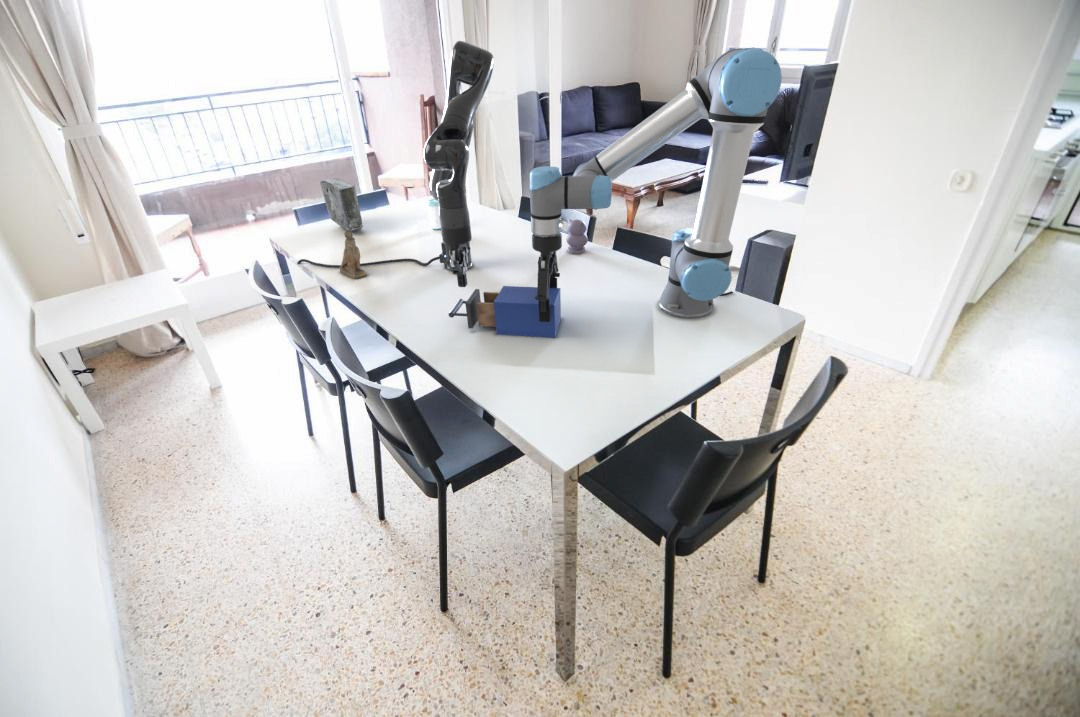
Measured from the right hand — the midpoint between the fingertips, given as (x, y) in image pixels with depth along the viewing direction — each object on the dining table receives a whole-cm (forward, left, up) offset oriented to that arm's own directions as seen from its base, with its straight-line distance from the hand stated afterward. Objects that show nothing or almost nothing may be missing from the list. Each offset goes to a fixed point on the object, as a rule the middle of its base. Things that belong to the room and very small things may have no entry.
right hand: (548, 310), depth 135 cm
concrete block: (+68, -119, -5) cm, 137 cm away
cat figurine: (-24, -58, -5) cm, 63 cm away
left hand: (+22, -9, +6) cm, 24 cm away
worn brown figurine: (+59, -59, -5) cm, 84 cm away
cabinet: (+5, -2, -5) cm, 8 cm away
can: (+27, -106, -5) cm, 110 cm away
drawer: (+16, -6, -4) cm, 18 cm away
